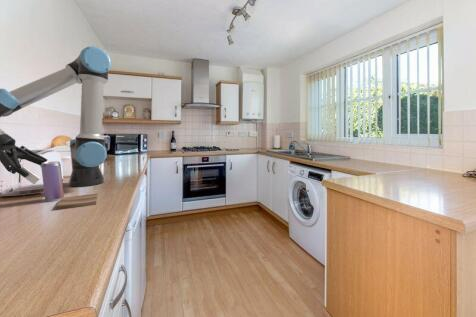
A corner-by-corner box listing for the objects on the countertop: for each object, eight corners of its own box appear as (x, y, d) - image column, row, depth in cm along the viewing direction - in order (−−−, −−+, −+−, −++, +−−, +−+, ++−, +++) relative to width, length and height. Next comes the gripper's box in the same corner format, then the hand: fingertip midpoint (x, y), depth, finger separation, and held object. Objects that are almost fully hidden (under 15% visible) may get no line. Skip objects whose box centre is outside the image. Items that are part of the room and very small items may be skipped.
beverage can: (53, 202, 90) (49, 163, 88) (41, 201, 91) (36, 163, 89) (67, 197, 95) (64, 161, 93) (55, 196, 96) (51, 161, 95)
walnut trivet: (62, 200, 91) (61, 197, 91) (97, 196, 97) (97, 193, 96) (55, 209, 80) (55, 206, 80) (96, 204, 86) (95, 201, 86)
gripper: (12, 145, 98) (57, 178, 103) (-44, 150, 74) (18, 193, 79) (25, 132, 98) (69, 166, 103) (-26, 133, 74) (35, 176, 79)
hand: (47, 177), depth 91 cm, fingers open, 13 cm apart
